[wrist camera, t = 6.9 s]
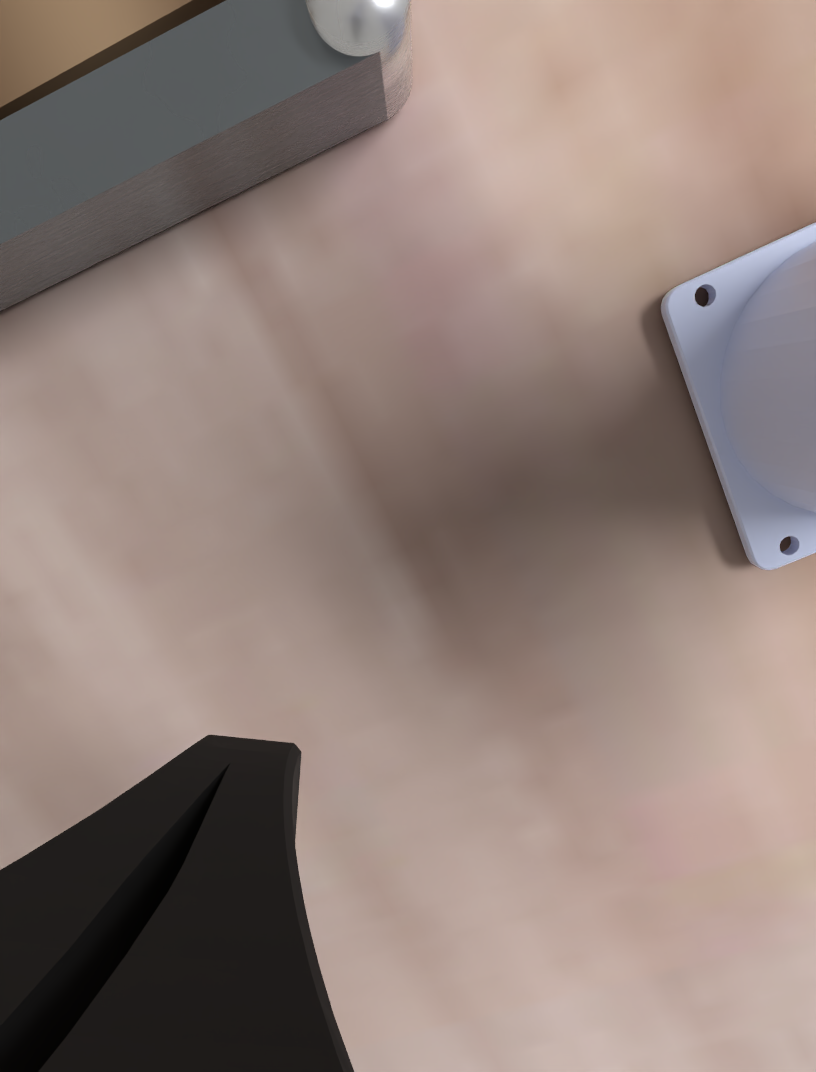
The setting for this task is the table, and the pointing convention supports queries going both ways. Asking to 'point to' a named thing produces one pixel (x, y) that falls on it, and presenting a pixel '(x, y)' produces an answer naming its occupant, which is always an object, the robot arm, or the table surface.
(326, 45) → the hinged leg
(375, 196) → the table surface
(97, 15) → the stool seat
